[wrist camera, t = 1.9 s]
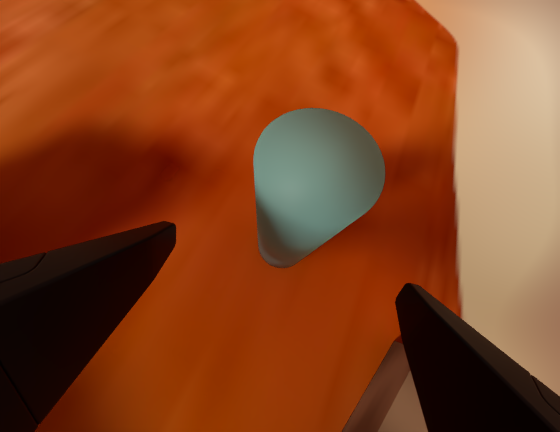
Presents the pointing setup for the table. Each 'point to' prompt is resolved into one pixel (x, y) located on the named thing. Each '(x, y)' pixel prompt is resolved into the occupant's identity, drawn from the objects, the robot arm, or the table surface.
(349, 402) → the table surface
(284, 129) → the rod
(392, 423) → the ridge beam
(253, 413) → the table surface
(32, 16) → the table surface
